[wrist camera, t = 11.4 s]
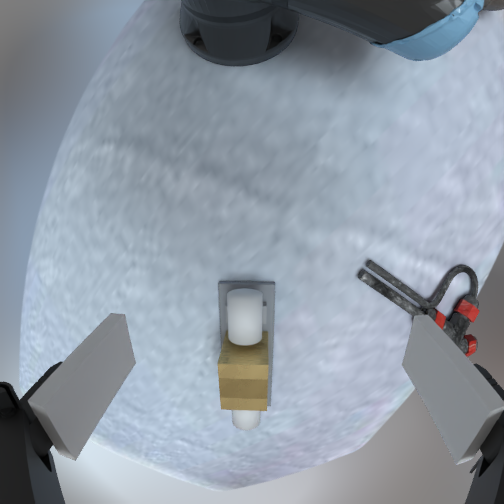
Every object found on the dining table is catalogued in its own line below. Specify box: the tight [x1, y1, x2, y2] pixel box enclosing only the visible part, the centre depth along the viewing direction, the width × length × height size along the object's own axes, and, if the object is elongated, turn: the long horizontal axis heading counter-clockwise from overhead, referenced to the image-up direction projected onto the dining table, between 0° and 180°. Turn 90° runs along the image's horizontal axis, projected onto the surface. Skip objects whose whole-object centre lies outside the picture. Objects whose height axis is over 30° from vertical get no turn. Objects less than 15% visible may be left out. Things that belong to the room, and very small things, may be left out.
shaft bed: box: [219, 281, 275, 430], centre depth 37 cm, size 20×7×6 cm, turn 0°
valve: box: [358, 260, 479, 356], centre depth 36 cm, size 6×26×15 cm
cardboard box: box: [218, 330, 269, 411], centre depth 36 cm, size 7×6×8 cm
